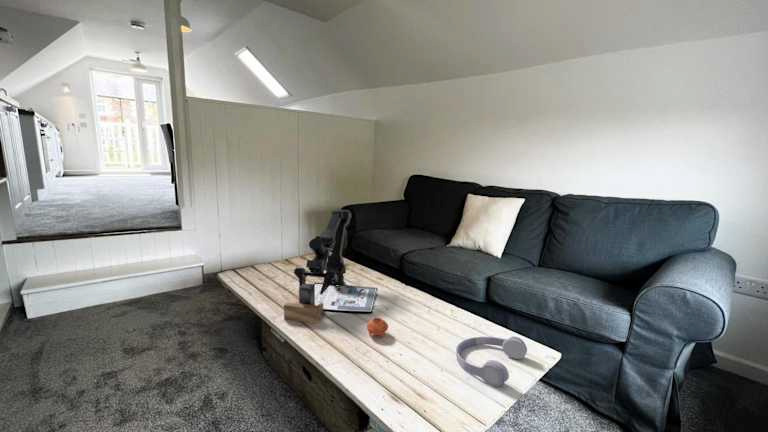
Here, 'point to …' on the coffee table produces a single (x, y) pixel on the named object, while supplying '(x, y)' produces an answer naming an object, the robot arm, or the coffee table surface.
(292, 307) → the brown wooden frame
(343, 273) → the robot arm
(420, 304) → the coffee table surface
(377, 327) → the pot
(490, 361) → the headphones
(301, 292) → the stepped grey pillar
